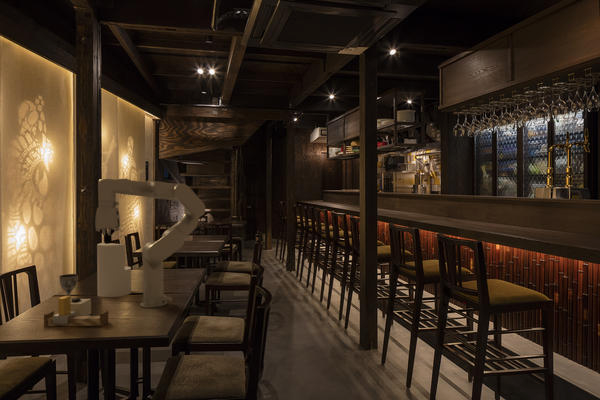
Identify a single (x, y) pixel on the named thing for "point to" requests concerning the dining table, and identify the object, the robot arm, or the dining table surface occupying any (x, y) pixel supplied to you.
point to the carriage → (63, 311)
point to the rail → (79, 320)
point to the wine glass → (68, 282)
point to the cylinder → (112, 271)
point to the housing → (82, 307)
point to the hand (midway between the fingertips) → (107, 243)
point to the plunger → (75, 300)
